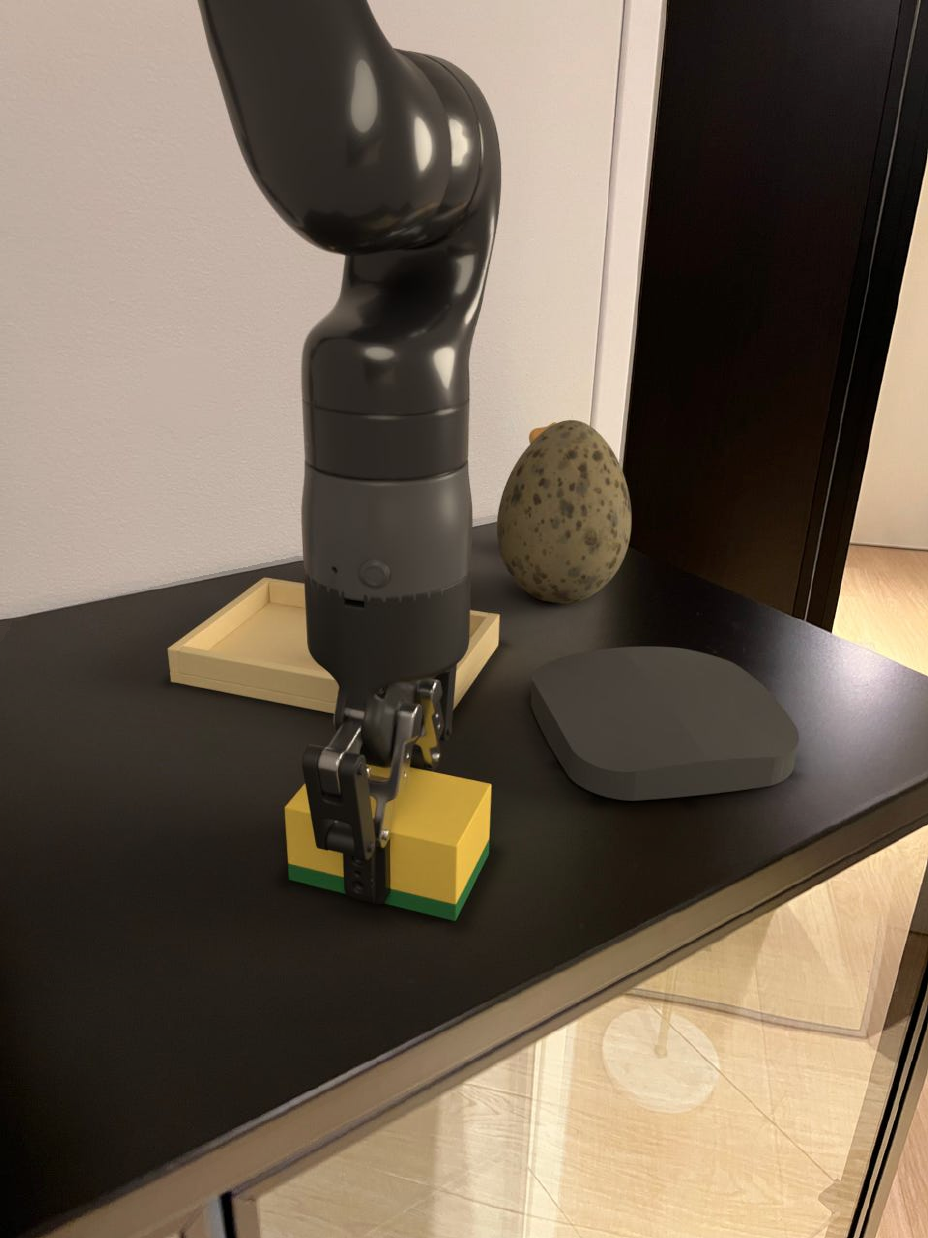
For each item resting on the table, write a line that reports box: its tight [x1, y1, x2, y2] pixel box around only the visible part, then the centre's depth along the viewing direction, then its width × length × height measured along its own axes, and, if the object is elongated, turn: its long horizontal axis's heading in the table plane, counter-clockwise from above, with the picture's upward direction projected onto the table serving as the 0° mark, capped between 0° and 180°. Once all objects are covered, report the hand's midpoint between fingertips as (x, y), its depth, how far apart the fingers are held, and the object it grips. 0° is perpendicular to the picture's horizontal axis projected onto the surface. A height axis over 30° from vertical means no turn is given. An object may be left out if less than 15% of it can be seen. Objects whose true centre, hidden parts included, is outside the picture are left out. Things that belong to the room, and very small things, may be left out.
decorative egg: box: [496, 419, 632, 605], centre depth 82 cm, size 11×11×15 cm
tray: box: [167, 577, 500, 715], centre depth 73 cm, size 20×14×3 cm
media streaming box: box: [530, 645, 800, 802], centre depth 65 cm, size 15×15×3 cm
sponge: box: [284, 765, 492, 922], centre depth 52 cm, size 9×6×4 cm, turn 72°
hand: (390, 859), depth 53 cm, fingers closed on sponge, 5 cm apart
